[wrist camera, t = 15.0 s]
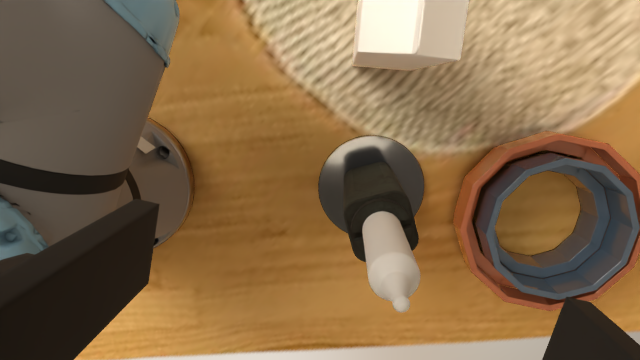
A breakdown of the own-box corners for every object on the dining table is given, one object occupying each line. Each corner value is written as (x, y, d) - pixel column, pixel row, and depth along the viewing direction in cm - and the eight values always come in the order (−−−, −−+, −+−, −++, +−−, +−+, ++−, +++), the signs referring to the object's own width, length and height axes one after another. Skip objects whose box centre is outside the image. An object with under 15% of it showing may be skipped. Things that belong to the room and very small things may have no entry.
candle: (400, 205, 46) (466, 342, 21) (353, 217, 46) (364, 364, 22) (388, 158, 45) (442, 246, 20) (340, 171, 45) (337, 272, 21)
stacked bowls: (432, 268, 48) (446, 295, 41) (475, 115, 44) (497, 120, 38) (584, 300, 47) (621, 333, 41) (639, 149, 44) (689, 160, 37)
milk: (351, 66, 44) (355, 49, 22) (357, 1, 42) (368, -83, 21) (412, 71, 43) (477, 59, 22) (420, 6, 42) (497, -74, 21)
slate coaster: (309, 224, 47) (309, 226, 47) (330, 125, 45) (330, 125, 44) (409, 245, 47) (409, 247, 47) (435, 147, 45) (436, 147, 44)
